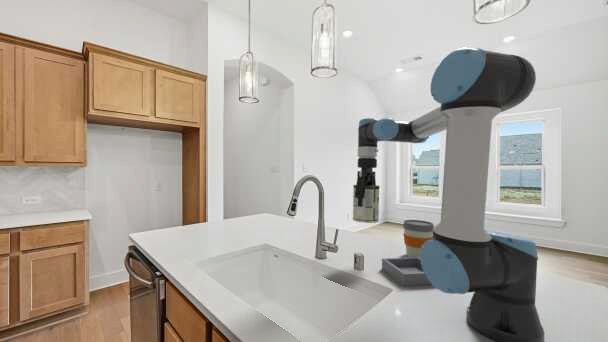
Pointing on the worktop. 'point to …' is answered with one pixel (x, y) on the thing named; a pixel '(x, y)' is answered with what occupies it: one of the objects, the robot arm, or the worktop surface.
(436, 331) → the worktop surface
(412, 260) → the housing tray
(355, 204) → the coffee can
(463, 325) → the worktop surface
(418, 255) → the reusable coffee cup
